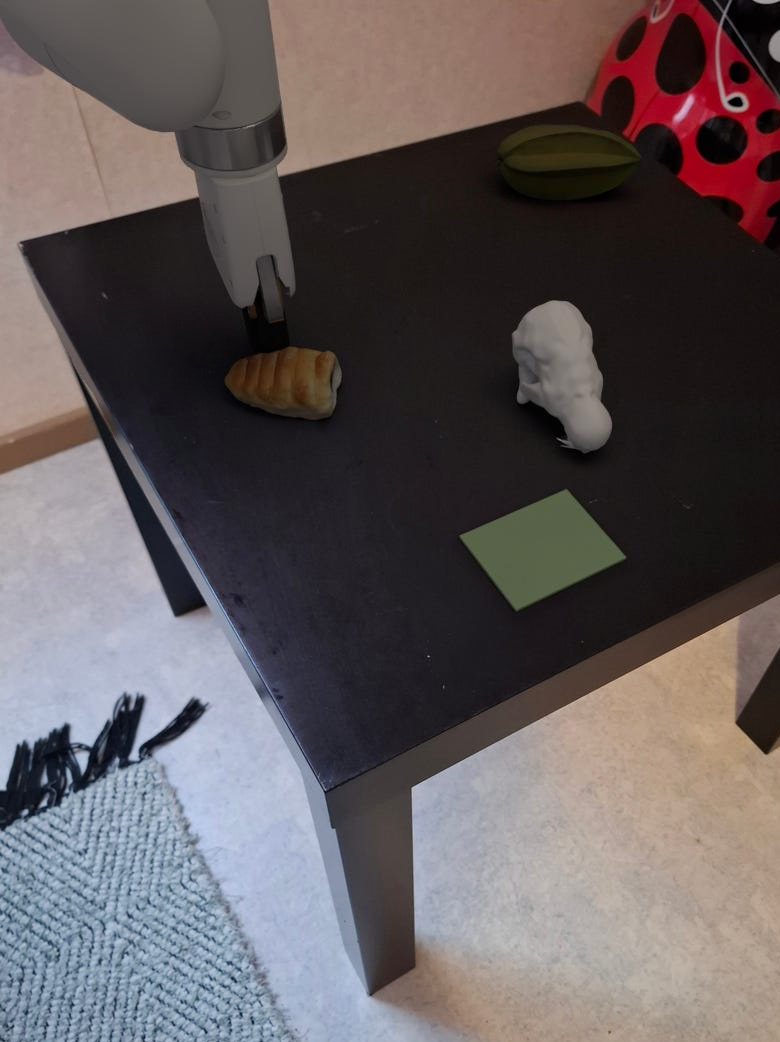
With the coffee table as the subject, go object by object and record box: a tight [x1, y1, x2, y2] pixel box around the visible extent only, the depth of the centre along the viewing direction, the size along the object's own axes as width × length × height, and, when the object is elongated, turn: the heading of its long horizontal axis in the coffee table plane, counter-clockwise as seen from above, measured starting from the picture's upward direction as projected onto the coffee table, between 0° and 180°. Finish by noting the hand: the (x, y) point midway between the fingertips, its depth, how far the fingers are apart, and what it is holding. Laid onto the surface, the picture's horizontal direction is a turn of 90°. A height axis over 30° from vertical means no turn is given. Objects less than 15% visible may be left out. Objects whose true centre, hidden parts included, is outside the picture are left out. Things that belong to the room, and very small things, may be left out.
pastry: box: [224, 346, 342, 421], centre depth 76 cm, size 9×7×4 cm
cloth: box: [458, 488, 627, 613], centre depth 69 cm, size 10×8×1 cm
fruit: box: [496, 123, 643, 202], centre depth 94 cm, size 11×12×7 cm
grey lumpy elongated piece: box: [511, 300, 613, 454], centre depth 74 cm, size 6×8×12 cm
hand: (269, 344), depth 78 cm, fingers closed
